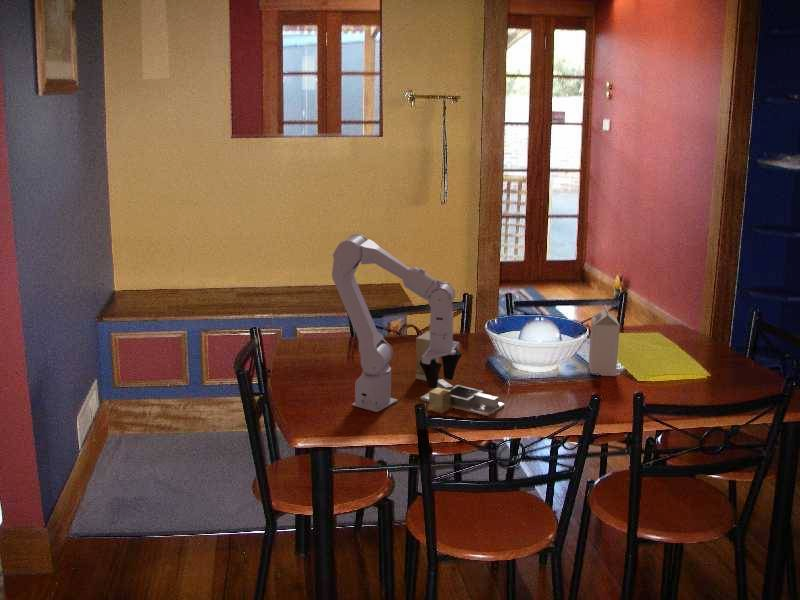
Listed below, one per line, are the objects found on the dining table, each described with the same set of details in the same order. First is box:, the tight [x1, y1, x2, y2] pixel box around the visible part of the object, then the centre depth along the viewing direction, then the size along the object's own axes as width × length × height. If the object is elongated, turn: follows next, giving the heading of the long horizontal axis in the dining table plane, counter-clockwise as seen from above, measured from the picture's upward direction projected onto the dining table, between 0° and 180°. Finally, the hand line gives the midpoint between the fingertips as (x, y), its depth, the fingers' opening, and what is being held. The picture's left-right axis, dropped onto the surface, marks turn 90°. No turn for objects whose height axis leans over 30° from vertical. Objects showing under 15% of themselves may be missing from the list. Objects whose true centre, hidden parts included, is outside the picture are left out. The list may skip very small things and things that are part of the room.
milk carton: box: [588, 304, 621, 377], centre depth 266 cm, size 7×7×19 cm
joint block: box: [428, 387, 451, 414], centre depth 239 cm, size 4×4×5 cm
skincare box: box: [415, 331, 440, 382], centre depth 261 cm, size 6×4×12 cm
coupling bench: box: [420, 378, 506, 415], centre depth 244 cm, size 9×20×4 cm, turn 55°
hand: (440, 383), depth 238 cm, fingers open, 7 cm apart
